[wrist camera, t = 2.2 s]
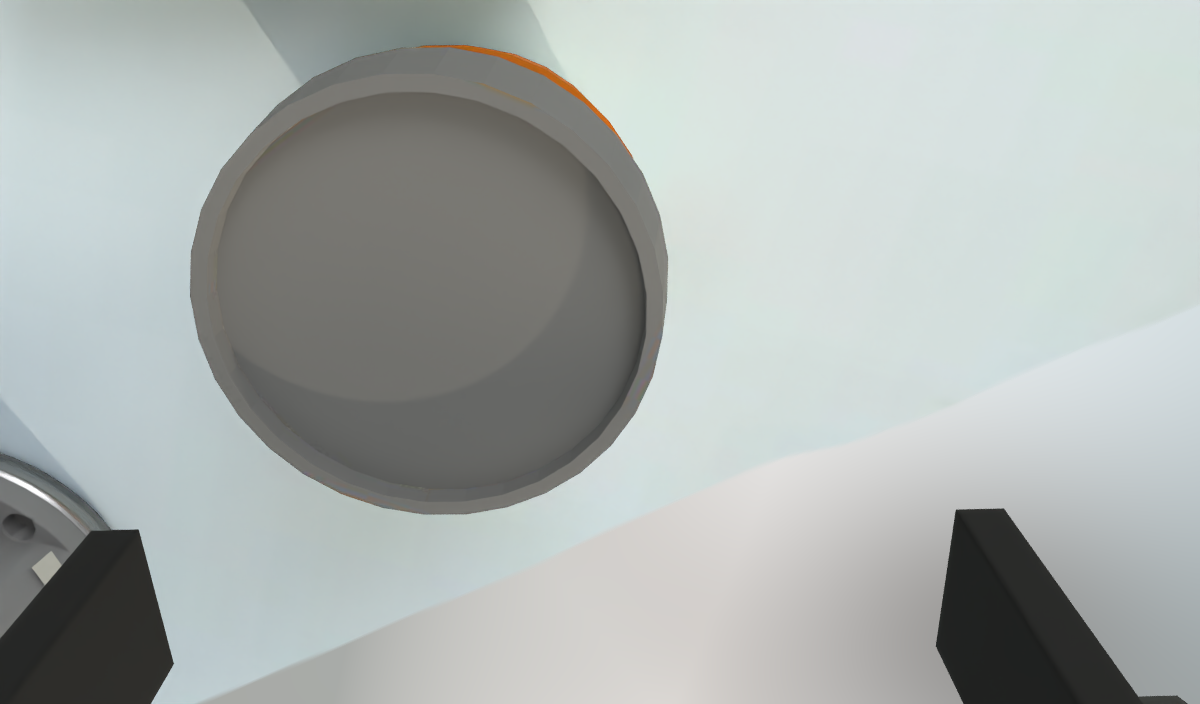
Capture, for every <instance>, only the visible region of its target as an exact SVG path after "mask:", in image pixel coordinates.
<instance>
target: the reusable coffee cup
mask: <svg viewBox="0 0 1200 704" xmlns="http://www.w3.org/2000/svg"><path fill="white" fill-rule="evenodd" d="M667 275H668V256H667V250H666V245H665V240H664V234H663V229H662V224H661V218H660V214H659V212H658V209H657V207H656V204H655V202H654V200H653V197H652V195H651V192H650V190H649V187H648V185H647V182H646V180H645V178H644V175H643V173H642V172H641V170H640V169H639V167H638V166H637V164H636V163H635V161H634V160H633V157H632V155H631V153H630V152H629V150H628V149H627V147H626V146H625V144H624V143H623V141H622V140H621V138H620V137H619V135H618V134H617V132H616V131H615V129H614V128H613V126H612V125H611V123H610V122H609V121H608V120H607V119H606V118H605V117H604V116H603V115H602V114H601V113H600V112H599V111H598V110H597V109H596V108H595V107H594V106H593V105H592V104H591V103H590V102H589V101H588V100H587V99H586V98H585V97H584V96H583V95H582V94H581V93H580V92H579V91H578V90H577V89H576V88H575V87H574V86H573V85H572V84H570V83H569V82H567V81H566V80H564V79H563V78H561V77H560V76H559V75H557V74H556V73H554V72H553V71H551V70H550V69H548V68H547V67H545V66H542V65H540V64H537V63H535V62H533V61H530V60H528V59H525V58H523V57H521V56H518V55H516V54H512V53H507V52H501V51H496V50H491V49H486V48H481V47H474V46H468V45H432V46H420V47H415V48H399V49H394V50H389V51H385V52H380V53H376V54H371V55H367V56H362V57H358V58H354V59H352V60H350V61H348V62H346V63H344V64H341V65H339V66H337V67H335V68H333V69H331V70H328V71H326V72H324V73H322V74H320V75H318V76H315V77H313V78H312V79H311V80H310V81H308V82H307V83H306V84H304V85H303V86H302V87H300V88H299V89H298V90H296V91H295V92H294V93H293V94H291V95H290V96H289V97H287V98H286V99H285V100H283V101H282V102H281V103H279V104H278V105H277V106H276V107H275V108H274V109H273V110H272V112H271V113H270V114H269V115H268V116H267V117H266V118H265V119H264V120H263V121H262V122H261V123H260V124H259V125H258V126H257V127H256V129H255V130H254V131H253V132H252V133H251V134H250V135H249V136H248V137H247V139H246V140H245V141H244V142H243V144H242V145H241V146H240V147H239V148H238V150H237V151H236V152H235V153H234V154H233V156H232V157H231V158H230V159H229V160H228V162H227V163H226V164H225V165H224V166H223V168H222V169H221V171H220V173H219V175H218V177H217V179H216V181H215V183H214V185H213V187H212V189H211V191H210V193H209V195H208V197H207V199H206V201H205V203H204V205H203V207H202V209H201V212H200V217H199V221H198V225H197V229H196V233H195V237H194V242H193V246H192V250H191V279H190V297H191V303H192V308H193V313H194V318H195V323H196V328H197V333H198V339H199V341H200V344H201V346H202V348H203V351H204V353H205V356H206V358H207V361H208V363H209V366H210V368H211V370H212V373H213V375H214V378H215V380H216V381H217V383H218V384H219V386H220V387H221V389H222V391H223V392H224V394H225V395H226V397H227V398H228V400H229V401H230V403H231V404H232V406H233V407H234V409H235V411H236V412H237V414H238V415H239V416H240V418H241V419H242V420H243V421H244V422H245V423H246V424H247V425H248V426H249V427H250V428H251V429H252V430H253V431H254V432H255V434H256V435H257V436H258V437H259V438H260V439H261V440H262V441H263V442H264V443H265V444H266V445H267V446H268V447H269V448H270V449H271V450H272V451H274V452H275V453H276V454H278V455H279V456H280V457H282V458H283V459H284V460H286V461H287V462H288V463H290V464H291V465H292V466H294V467H295V468H296V469H298V470H299V471H300V472H302V473H303V474H304V475H306V476H308V477H310V478H312V479H314V480H316V481H318V482H320V483H322V484H323V485H325V486H327V487H329V488H331V489H333V490H335V491H337V492H339V493H341V494H343V495H346V496H349V497H352V498H355V499H358V500H361V501H364V502H367V503H370V504H373V505H376V506H379V507H382V508H388V509H394V510H400V511H406V512H412V513H419V514H471V513H476V512H482V511H488V510H493V509H499V508H505V507H509V506H512V505H514V504H517V503H520V502H523V501H525V500H528V499H531V498H533V497H536V496H539V495H542V494H544V493H547V492H548V491H550V490H552V489H553V488H555V487H557V486H559V485H560V484H562V483H564V482H565V481H567V480H569V479H570V478H572V477H574V476H575V475H577V474H579V473H581V472H582V471H583V470H584V469H585V468H586V467H587V466H589V465H590V464H591V463H592V462H593V461H594V460H595V459H596V458H598V457H599V456H600V455H601V454H602V453H603V452H604V451H605V450H607V449H608V448H609V447H610V446H611V445H612V444H613V442H614V441H615V440H616V438H617V437H618V436H619V434H620V433H621V432H622V430H623V429H624V428H625V426H626V425H627V424H628V422H629V421H630V420H631V418H632V417H633V416H634V414H635V413H636V411H637V409H638V407H639V404H640V402H641V400H642V398H643V396H644V394H645V392H646V390H647V387H648V385H649V383H650V381H651V379H652V377H653V373H654V369H655V365H656V360H657V356H658V352H659V348H660V343H661V339H662V334H663V326H664V318H665V311H666V303H667Z"/></svg>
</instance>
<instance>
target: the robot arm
mask: <svg viewBox="0 0 1200 704" xmlns="http://www.w3.org/2000/svg"><path fill="white" fill-rule="evenodd" d="M936 647H937V649H938V652H939V654H940V655H941V658H942V660H943V662H944V664H945V666H946V668H947V670H948V672H949V674H950V676H951V679H952V681H953V683H954V685H955V687H956V689H957V691H958V693H959V695H960V697H961V699H962V701H963V704H1187V703H1186V702H1185V701H1183V700H1182V699H1181V698H1179V697H1178V696H1150V697H1149V696H1146V697H1138V696H1137V694H1136V693H1135V692H1134V690H1133V689H1132V687H1131V686H1130V685H1129V683H1128V682H1127V681H1126V679H1125V678H1124V676H1123V675H1122V673H1121V672H1120V671H1119V669H1118V668H1117V666H1116V665H1115V664H1114V662H1113V661H1112V659H1111V658H1110V657H1109V655H1108V654H1107V652H1106V651H1105V650H1104V648H1103V647H1102V646H1101V644H1100V643H1099V641H1098V640H1097V638H1096V637H1095V636H1094V634H1093V633H1092V631H1091V630H1090V629H1089V627H1088V626H1087V624H1086V623H1085V622H1084V620H1083V619H1082V617H1081V616H1080V615H1079V613H1078V612H1077V610H1076V609H1075V608H1074V606H1073V605H1072V603H1071V602H1070V601H1069V599H1068V598H1067V596H1066V595H1065V594H1064V592H1063V591H1062V589H1061V588H1060V587H1059V585H1058V584H1057V583H1056V581H1055V580H1054V578H1053V577H1052V575H1051V574H1050V573H1049V571H1048V570H1047V568H1046V567H1045V566H1044V564H1043V563H1042V562H1041V560H1040V559H1039V557H1038V556H1037V554H1036V553H1035V552H1034V550H1033V549H1032V547H1031V546H1030V545H1029V543H1028V542H1027V540H1026V539H1025V538H1024V536H1023V535H1022V533H1021V532H1020V531H1019V529H1018V528H1017V527H1016V525H1015V524H1014V522H1013V521H1012V520H1011V518H1010V517H1009V515H1008V514H1007V512H1006V511H1005V510H1004V509H967V510H956V512H955V520H954V526H953V533H952V540H951V546H950V553H949V561H948V568H947V574H946V581H945V587H944V594H943V601H942V608H941V614H940V621H939V628H938V635H937V642H936ZM173 664H174V663H173V659H172V655H171V651H170V648H169V644H168V640H167V636H166V632H165V629H164V625H163V621H162V617H161V613H160V609H159V606H158V602H157V598H156V594H155V590H154V586H153V583H152V579H151V575H150V571H149V567H148V564H147V560H146V556H145V552H144V548H143V544H142V541H141V537H140V533H139V530H111V529H110V528H109V527H108V526H107V524H106V523H105V522H104V521H103V520H102V518H101V517H100V516H99V515H98V514H97V513H96V512H95V511H94V510H93V509H92V508H91V507H90V506H89V505H88V504H87V503H86V502H85V501H84V500H82V499H81V498H80V497H79V496H78V495H77V494H75V493H74V492H73V491H71V490H70V489H69V488H67V487H66V486H65V485H63V484H62V483H60V482H59V481H57V480H56V479H54V478H52V477H51V476H49V475H48V474H46V473H44V472H42V471H40V470H38V469H37V468H35V467H33V466H31V465H29V464H26V463H24V462H22V461H20V460H17V459H15V458H12V457H10V456H7V455H4V454H1V453H0V704H151V703H152V701H153V699H154V697H155V696H156V694H157V692H158V690H159V689H160V687H161V685H162V683H163V682H164V680H165V678H166V677H167V675H168V673H169V671H170V670H171V668H172V666H173Z"/></svg>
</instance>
